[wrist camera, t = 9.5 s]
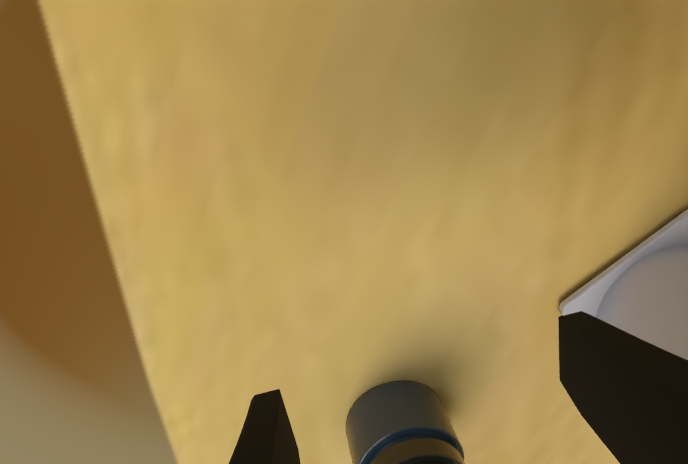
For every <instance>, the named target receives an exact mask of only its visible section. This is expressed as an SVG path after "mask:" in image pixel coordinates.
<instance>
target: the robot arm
mask: <svg viewBox="0 0 688 464" xmlns="http://www.w3.org/2000/svg"><path fill="white" fill-rule="evenodd" d="M559 311H560V313H561V315H562V316H560V317H559V364H560V381H561V383H562V384H563V386H564V388H565V389H566V391H567V393H568V394H569V396H570V398H571V399H572V401H573V402H574V404H575V406H576V407H577V409H578V410H579V412H580V413H581V415H582V416H583V418H584V419H585V420H586V421H587V423H588V424H589V425H590V426H591V428H592V429H593V430H594V431H595V433H596V434H597V435H598V436H599V438H600V439H601V440H602V442H603V443H604V444H605V445H606V446H607V448H608V449H609V450H610V451H611V453H612V454H613V455H614V456H615V458H616V459H617V460H618V461H619V462H620V464H688V209H687V210H685V211H684V212H683V213H681V214H680V215H679V216H677V217H676V218H675V219H673V220H672V221H671V222H669V223H668V224H666V225H665V226H664V227H662V228H661V229H660V230H658V231H657V232H656V233H654V234H653V235H652V236H650V237H649V238H647V239H646V240H645V241H643V242H642V243H641V244H639V245H638V246H637V247H635V248H634V249H633V250H631V251H630V252H629V253H627V254H626V255H624V256H623V257H622V258H620V259H619V260H618V261H616V262H615V263H614V264H612V265H611V266H610V267H608V268H607V269H605V270H604V271H603V272H601V273H600V274H599V275H597V276H596V277H595V278H593V279H592V280H591V281H589V282H588V283H587V284H585V285H584V286H582V287H581V288H580V289H578V290H577V291H576V292H574V293H573V294H572V295H570V296H569V297H568V298H566V299H565V300H564V301H563V302H562V303H561V304H560V306H559ZM229 464H300V458H299V452H298V447H297V444H296V441H295V438H294V434H293V431H292V428H291V425H290V422H289V418H288V415H287V412H286V409H285V406H284V403H283V399H282V396H281V393H280V390H279V389H277V390H273V391H269V392H266V393H262V394H258V395H255V396H254V397H253V399H252V400H251V404H250V407H249V410H248V414H247V417H246V420H245V423H244V426H243V429H242V431H241V434H240V437H239V440H238V442H237V445H236V447H235V450H234V452H233V455H232V457H231V460H230V462H229Z"/></svg>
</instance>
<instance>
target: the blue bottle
mask: <svg viewBox="0 0 688 464" xmlns="http://www.w3.org/2000/svg"><path fill="white" fill-rule="evenodd" d="M346 434H347V439H348V444H349V449H350V453H351V458H352V463H353V464H421V463H435V464H465V463H464V453H463V449H462V446H461V444H460V442H459V439H458V437H457V435H456V433H455V431H454V429H453V426H452V424H451V422H450V420H449V418H448V416H447V413H446V411H445V409H444V407H443V405H442V403H441V400H440V399H439V397H438V396H437V395H436V394H435V392H433V391H432V390H431V389H429V388H428V387H426V386H424V385H422V384H419V383H416V382H410V381H395V382H390V383H386V384H382V385H380V386H377V387H375V388H373V389H371V390H370V391H368V392H367V393H365V394H364V395H363V396H362V397H360V398H359V399H358V400H357V402H356V403H355V404H354V405H353V407H352V408H351V410H350V412H349V415H348V417H347V421H346Z"/></svg>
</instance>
